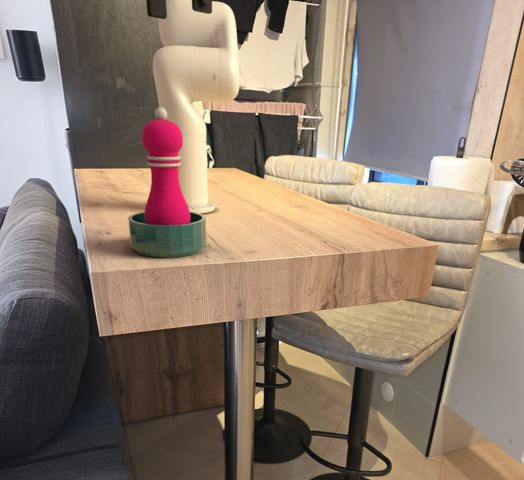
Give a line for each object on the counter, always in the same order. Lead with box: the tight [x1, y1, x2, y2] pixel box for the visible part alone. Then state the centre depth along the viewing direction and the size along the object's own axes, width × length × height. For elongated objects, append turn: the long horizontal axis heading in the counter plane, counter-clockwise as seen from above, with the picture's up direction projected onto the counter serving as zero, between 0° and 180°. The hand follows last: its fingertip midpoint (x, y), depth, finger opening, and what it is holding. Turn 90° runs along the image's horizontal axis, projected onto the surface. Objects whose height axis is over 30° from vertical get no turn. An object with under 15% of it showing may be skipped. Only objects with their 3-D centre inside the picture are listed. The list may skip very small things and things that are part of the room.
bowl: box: [127, 211, 208, 259], centre depth 74 cm, size 12×12×5 cm
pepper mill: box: [141, 106, 190, 225], centre depth 70 cm, size 7×7×20 cm
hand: (178, 15), depth 65 cm, fingers open, 9 cm apart
